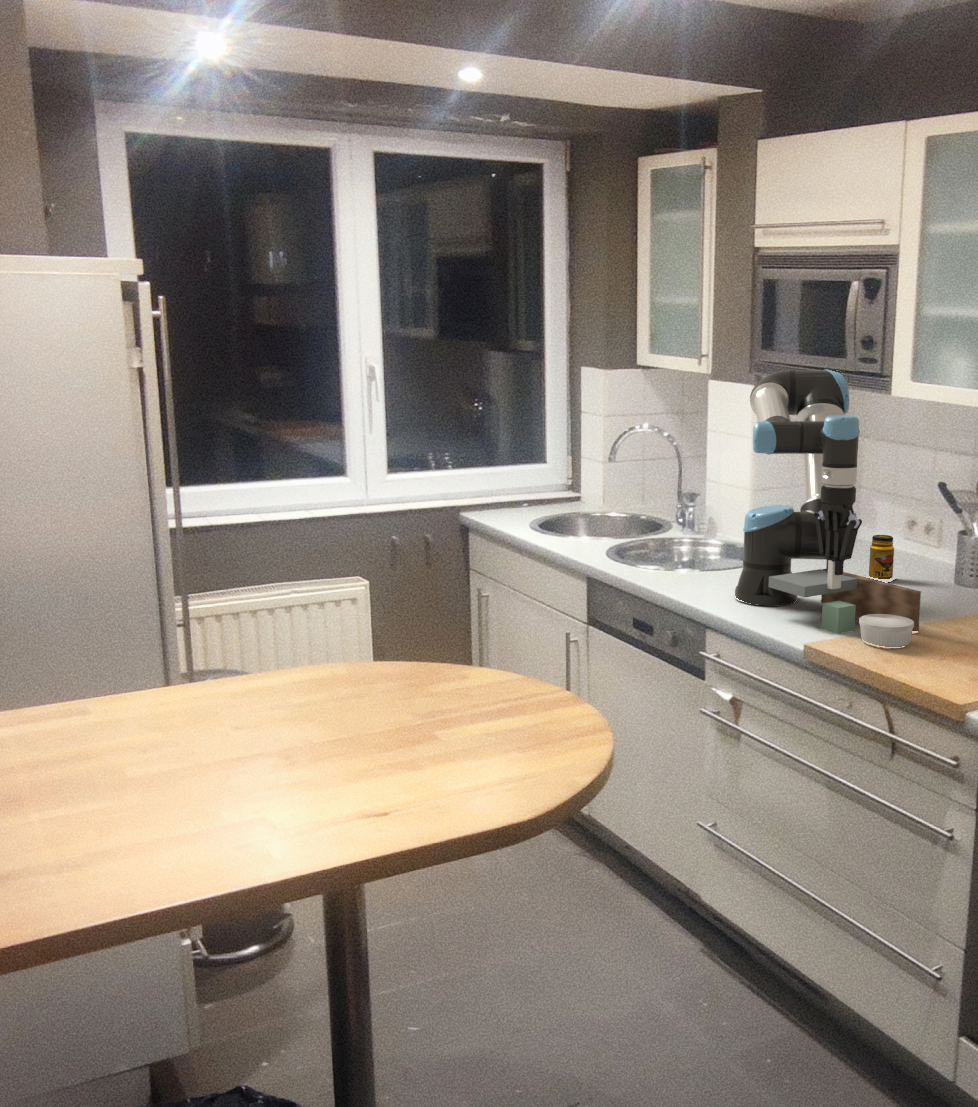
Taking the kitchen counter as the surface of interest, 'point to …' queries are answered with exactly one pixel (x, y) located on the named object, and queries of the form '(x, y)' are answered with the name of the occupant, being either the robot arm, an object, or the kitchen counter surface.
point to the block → (838, 617)
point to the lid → (810, 583)
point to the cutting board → (879, 599)
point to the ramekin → (886, 629)
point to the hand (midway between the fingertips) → (833, 588)
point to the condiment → (881, 557)
